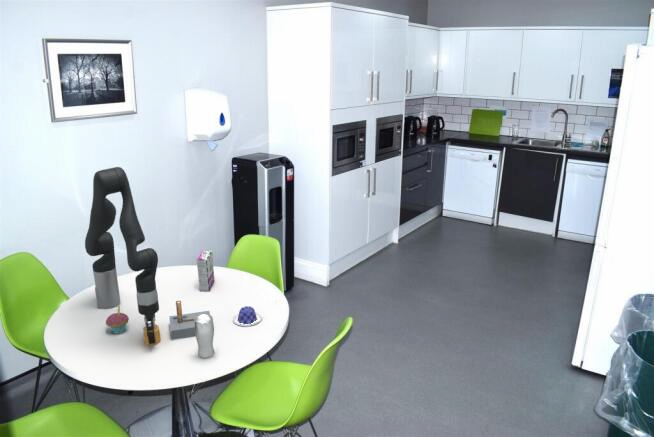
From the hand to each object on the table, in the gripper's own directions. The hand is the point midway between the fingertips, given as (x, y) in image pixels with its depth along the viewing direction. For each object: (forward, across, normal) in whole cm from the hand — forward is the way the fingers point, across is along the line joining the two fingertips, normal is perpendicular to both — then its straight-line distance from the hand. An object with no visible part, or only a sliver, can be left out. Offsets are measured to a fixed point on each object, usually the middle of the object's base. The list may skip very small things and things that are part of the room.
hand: (152, 337), depth 202 cm
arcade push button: (+2, 0, 0) cm, 2 cm away
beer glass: (+2, +15, +19) cm, 24 cm away
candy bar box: (+2, -43, +25) cm, 50 cm away
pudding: (+3, -6, +38) cm, 39 cm away
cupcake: (+2, -13, -13) cm, 19 cm away
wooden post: (-2, -5, +11) cm, 12 cm away
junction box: (+2, -5, +15) cm, 16 cm away
